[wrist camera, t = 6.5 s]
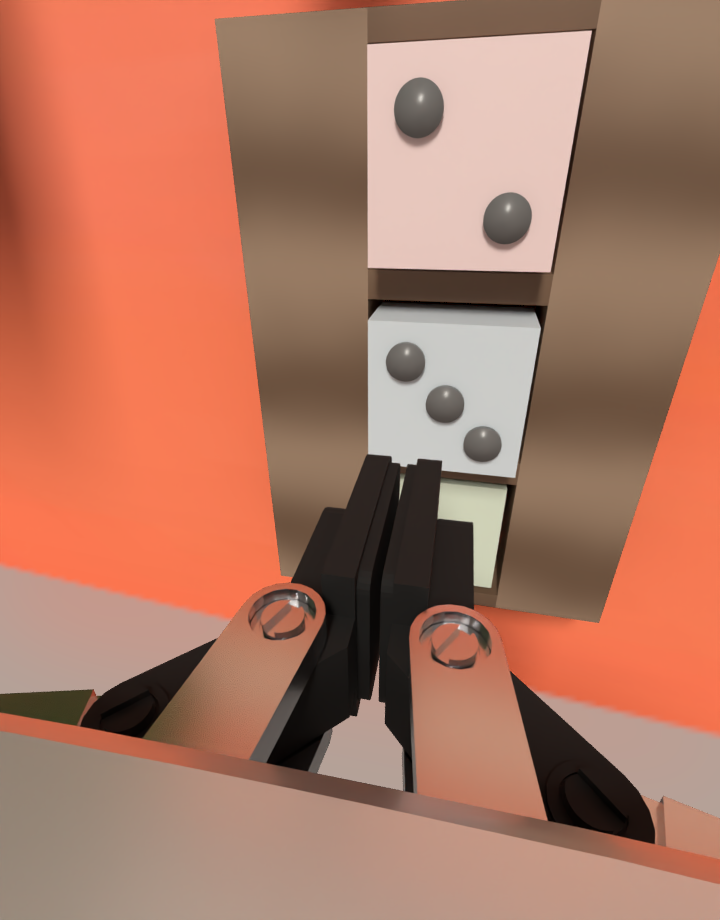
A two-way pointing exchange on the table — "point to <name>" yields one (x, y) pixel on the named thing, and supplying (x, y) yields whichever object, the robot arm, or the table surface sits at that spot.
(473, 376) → the three dot tile
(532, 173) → the two dot tile
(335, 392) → the counting board
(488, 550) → the cream knobbed tile
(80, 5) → the table surface
